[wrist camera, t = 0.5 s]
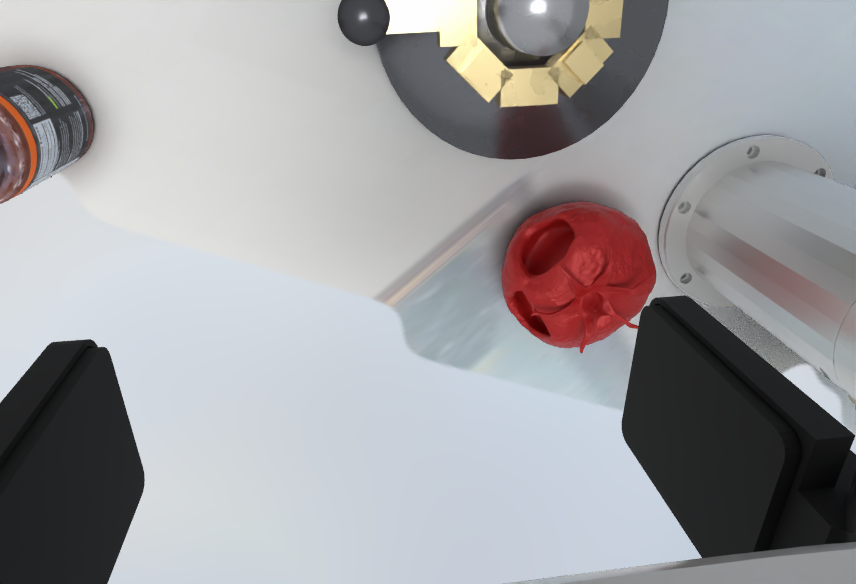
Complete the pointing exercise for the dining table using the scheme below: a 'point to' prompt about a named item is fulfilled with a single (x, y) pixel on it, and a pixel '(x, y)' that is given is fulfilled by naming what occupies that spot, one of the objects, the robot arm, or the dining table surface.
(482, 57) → the gold segmented ring
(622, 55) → the dark oval platter
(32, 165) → the supplement bottle
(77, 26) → the dining table surface
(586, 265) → the pomegranate
